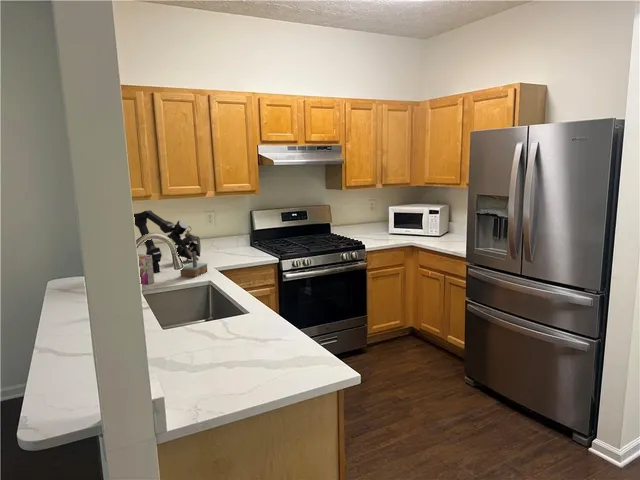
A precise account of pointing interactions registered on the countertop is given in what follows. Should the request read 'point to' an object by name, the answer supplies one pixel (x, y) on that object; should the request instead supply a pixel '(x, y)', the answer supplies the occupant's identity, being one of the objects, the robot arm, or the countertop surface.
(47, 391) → the countertop surface
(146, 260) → the candy bar box
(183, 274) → the walnut box
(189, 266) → the lid
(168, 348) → the countertop surface
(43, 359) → the countertop surface
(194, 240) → the tabletop clock
